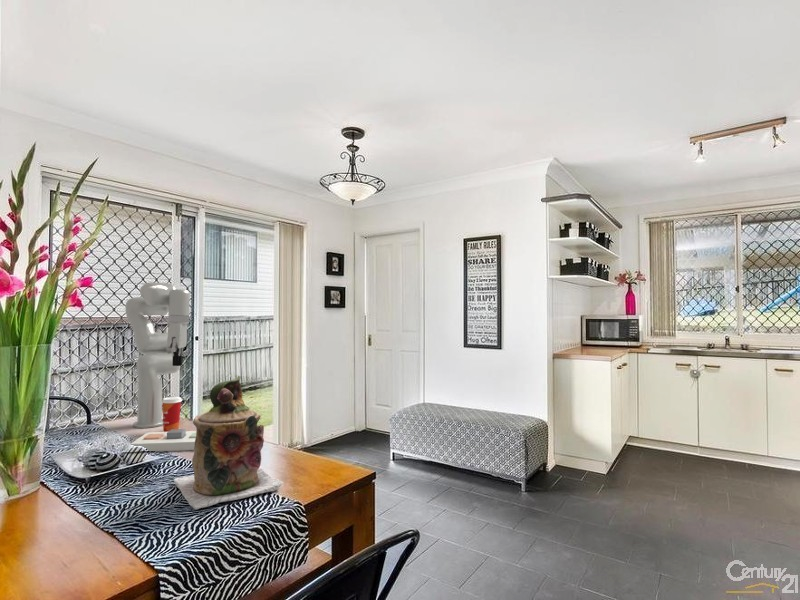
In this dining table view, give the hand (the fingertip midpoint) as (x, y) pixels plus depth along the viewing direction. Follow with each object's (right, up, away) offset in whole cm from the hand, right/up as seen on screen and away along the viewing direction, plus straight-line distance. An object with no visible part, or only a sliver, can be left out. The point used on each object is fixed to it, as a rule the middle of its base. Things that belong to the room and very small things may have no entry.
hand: (177, 365), depth 180 cm
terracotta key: (-4, -28, -11) cm, 30 cm away
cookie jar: (+39, -28, -50) cm, 69 cm away
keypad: (+4, -29, -9) cm, 31 cm away
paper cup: (-7, -30, +9) cm, 32 cm away
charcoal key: (+4, -26, -9) cm, 28 cm away
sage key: (+12, -28, -8) cm, 31 cm away
